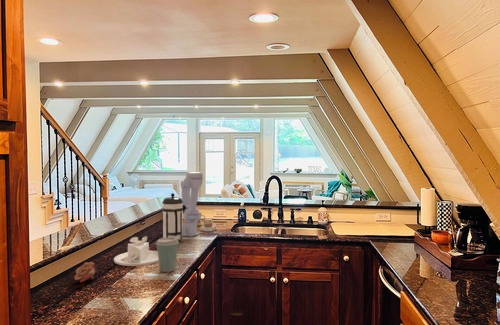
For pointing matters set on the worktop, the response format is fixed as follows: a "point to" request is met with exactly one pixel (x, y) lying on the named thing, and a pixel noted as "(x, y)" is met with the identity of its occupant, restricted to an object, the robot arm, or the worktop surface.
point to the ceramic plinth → (208, 228)
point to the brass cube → (208, 222)
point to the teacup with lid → (200, 219)
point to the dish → (137, 254)
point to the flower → (85, 271)
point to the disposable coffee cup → (167, 253)
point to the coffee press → (173, 217)
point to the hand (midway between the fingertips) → (185, 216)
